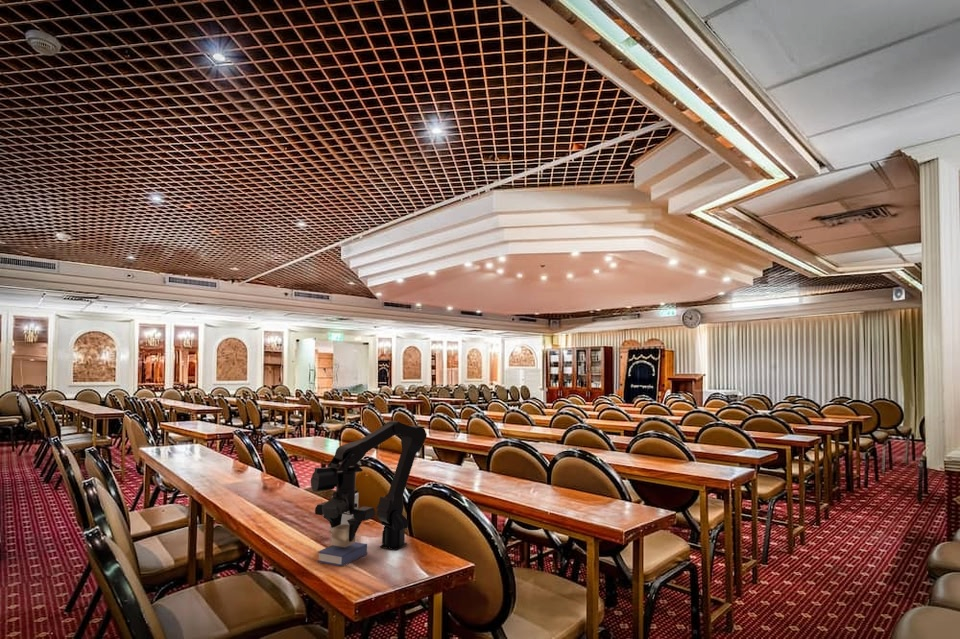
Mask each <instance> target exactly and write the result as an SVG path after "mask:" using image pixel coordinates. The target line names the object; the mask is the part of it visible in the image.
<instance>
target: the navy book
mask: <svg viewBox="0 0 960 639" xmlns="http://www.w3.org/2000/svg"><path fill="white" fill-rule="evenodd" d="M367 552H368V544H367V543H362V542H356V541H355V543H353V544H351V545H349V546H347V547H340V546H334V545H329V546H327V547H325V548H323V549H321V550H318V551H317V553H318V560H317V563H321V564H326V565H332V566H336V567H337V566H338V567H344V565H345V566H346V564H347V565H349V564H350V563H352V562H354V561H356V560H358V559H361V558H362V557H364V556H366V555H367V554H368V553H367Z"/></svg>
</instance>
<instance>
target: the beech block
mask: <svg viewBox="0 0 960 639" xmlns="http://www.w3.org/2000/svg"><path fill="white" fill-rule="evenodd" d="M355 542H356V535H355V536H354V538H353V540H352V541H351V542H350V541H349V525H348V524H341V525H338V526H336V527H333V528H332V532H331V543H330V544H331V545H330V546H332V545H334V546H340V547H347V546H349V545H351V544H353V543H355Z"/></svg>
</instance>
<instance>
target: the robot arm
mask: <svg viewBox="0 0 960 639" xmlns="http://www.w3.org/2000/svg"><path fill="white" fill-rule="evenodd" d="M395 435H396V436H399V437H401V439H400V443H401V452H400V456H399V459H398V462H397V466H396V468H395V471H394V475H393V477H392V480H391V483H390V486H389V487H390V488H389V489H388V492H387V493H386V495H385V496H384V497H383V496H380V498H379V500H378V505H377V506H376V508H374V507H372V506H371V507H370V506H361V507H358V509H354V508H355V507H357V503H355V494H357V493H359V492H358V490H359V489H356V479H357V478H356V477H357V475H356V473H361V472H363V470H364V469H363V468H362V467H360V466H359V464H358V463H359V462H360V461H362V460H363V459H364V457H365V456H366V454H367V453H368V452H370V451H372V449H374V448H376V447H377V446H379V445H381V444H383V443H384V442H386V441H387V440H389V439H390V438H392V437H394V436H395ZM427 435H428V434H427V432H426V429H425V428H424V427H422V426H416V425H407V424H404V423H402V422H400V421H398V420H397V421H396V420H391V421H389V422H387V423H386V424H384V425H383V426H381V427H379V428H377V429H376V430H374V431H372V432H371V433H369V434H368V435H367V434H366V435H365V436H364V437H362V438H360V439H359V440H355V441H351V442H348V443H345V444H342V445H340V446H338V447H337V448H336V450H335V454H334V456H333V457H332V459H331V460H330V462H329V463H328V464H327V466H326V467H318V466H317V467H314V471H313V472H312V475H311V478H310V488H311V489H312V491H313V492H314V493H317V492H322V491H331V490H334V489H335V491H333V493H332V496H333V497H332V496H331V499H329V500H328V501H325V502H321V503H317V504H316V506H315V509H314V515H317V516H322V518H323V519H326V520H327V521H328V523H329V525H330V526H331V527H332V528H333V527H336V526H338V525H341V519H342V514H347V515H352V518H351V519H349V520H347V521H348V523H349V541H350V542H351V541H352V540H353V538H354V536H355V537H356V534H357V531H358V529H359V528H360V525H361V524H362V522H365V521H369V520H371V519H373V518H375V517H376V516H377V518H378V519H379V520H380V523H381V526H383V530H382V534H381V536H382V538H381V544H380V548H383V549H389V550H395V551H398V550H400V549H402V548H403V547H405V546H407V545H408V542H405V541H406V540H405V538H406V537H405V535H406V529H408V526H409V523H410V521H409V520H408V519H407V518H406V517H405V516H404V515H403V513H404V498H403V497H404V493H405V491H406V487H407V484H408V482H409V478H410V474H411V470H412V467H413V464H414V461H415V458H416V454H418V452H419V451H420V450H421V448H422V447H423V446H424V444H425V442H426V439H427ZM375 509H376V510H377V511H376V510H375ZM348 511H349V512H348Z"/></svg>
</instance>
